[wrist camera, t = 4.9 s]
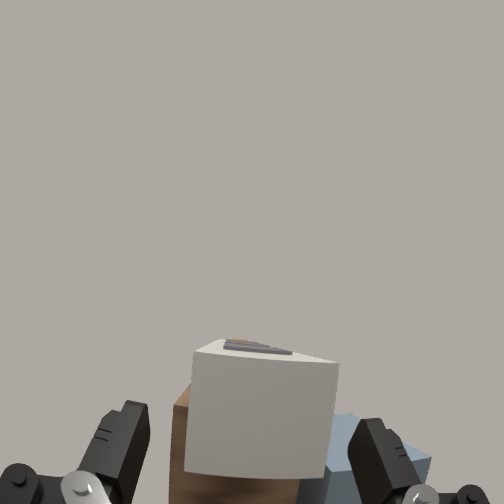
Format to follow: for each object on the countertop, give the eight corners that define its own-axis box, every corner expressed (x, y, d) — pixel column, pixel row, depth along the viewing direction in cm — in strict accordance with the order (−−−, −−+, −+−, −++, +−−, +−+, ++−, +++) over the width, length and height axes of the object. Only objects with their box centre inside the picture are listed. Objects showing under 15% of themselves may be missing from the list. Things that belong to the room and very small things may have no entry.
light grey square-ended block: (255, 378, 33) (259, 341, 34) (323, 477, 8) (340, 355, 9) (215, 374, 33) (219, 336, 34) (183, 471, 8) (194, 342, 9)
